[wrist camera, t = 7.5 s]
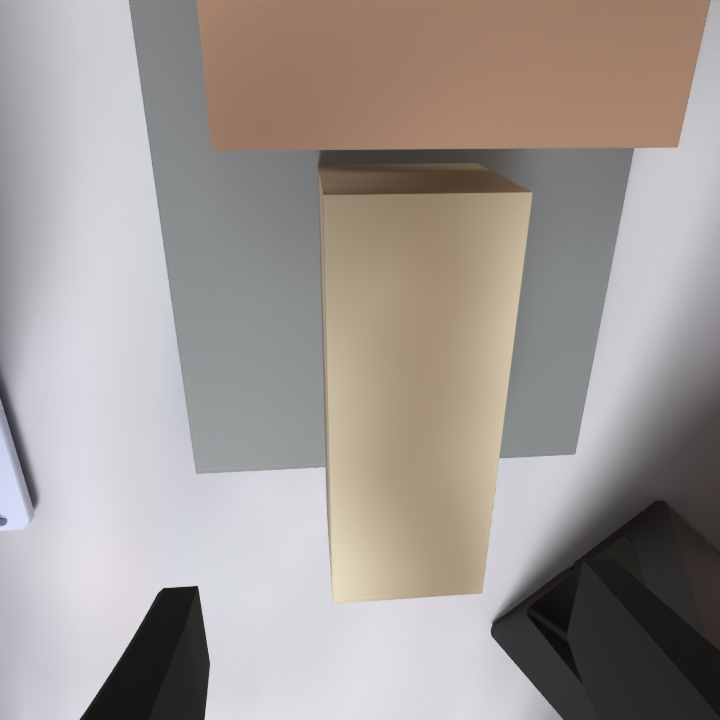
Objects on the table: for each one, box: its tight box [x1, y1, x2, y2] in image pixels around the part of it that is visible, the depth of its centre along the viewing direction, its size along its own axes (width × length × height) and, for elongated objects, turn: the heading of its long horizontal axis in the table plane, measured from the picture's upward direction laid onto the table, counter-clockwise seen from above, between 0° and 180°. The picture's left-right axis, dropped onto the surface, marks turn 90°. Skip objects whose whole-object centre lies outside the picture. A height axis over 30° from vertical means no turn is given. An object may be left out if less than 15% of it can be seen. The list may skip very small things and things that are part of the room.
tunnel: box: [197, 0, 710, 151], centre depth 11 cm, size 8×3×5 cm, turn 90°
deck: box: [129, 0, 634, 474], centre depth 15 cm, size 12×20×2 cm, turn 0°
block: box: [318, 163, 533, 604], centre depth 15 cm, size 4×10×4 cm, turn 0°
